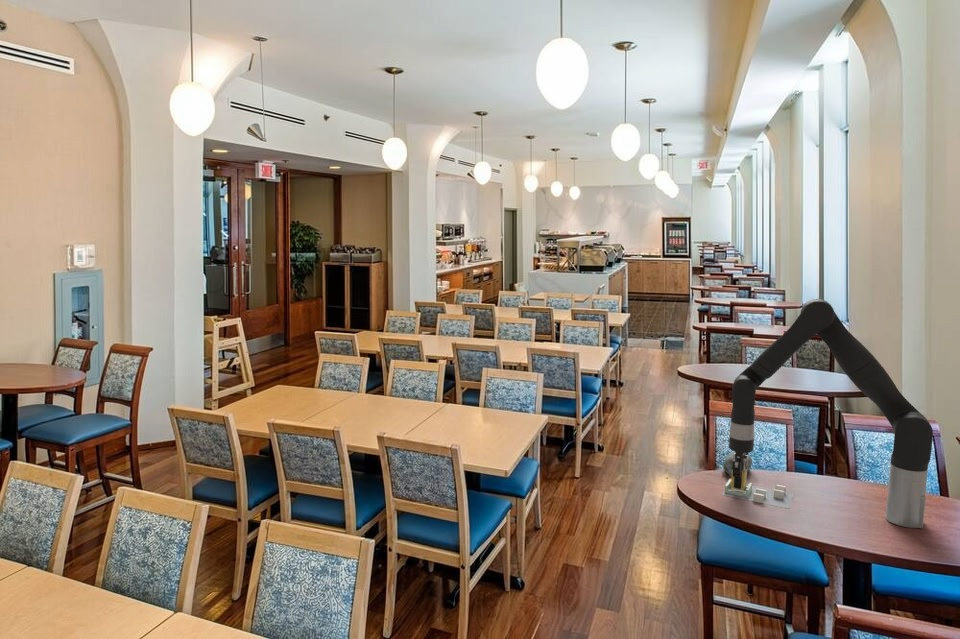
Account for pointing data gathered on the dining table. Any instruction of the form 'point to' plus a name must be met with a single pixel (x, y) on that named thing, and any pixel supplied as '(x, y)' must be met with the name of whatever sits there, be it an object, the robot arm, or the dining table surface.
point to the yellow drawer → (744, 477)
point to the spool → (729, 460)
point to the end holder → (748, 491)
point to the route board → (769, 497)
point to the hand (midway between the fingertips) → (738, 485)
